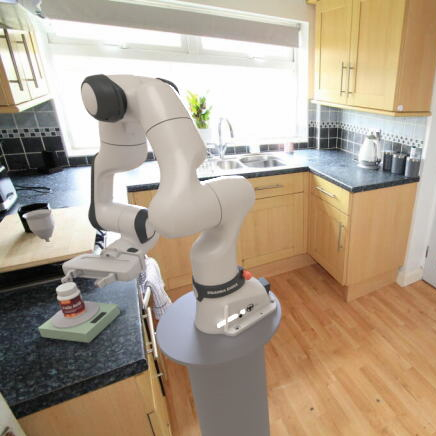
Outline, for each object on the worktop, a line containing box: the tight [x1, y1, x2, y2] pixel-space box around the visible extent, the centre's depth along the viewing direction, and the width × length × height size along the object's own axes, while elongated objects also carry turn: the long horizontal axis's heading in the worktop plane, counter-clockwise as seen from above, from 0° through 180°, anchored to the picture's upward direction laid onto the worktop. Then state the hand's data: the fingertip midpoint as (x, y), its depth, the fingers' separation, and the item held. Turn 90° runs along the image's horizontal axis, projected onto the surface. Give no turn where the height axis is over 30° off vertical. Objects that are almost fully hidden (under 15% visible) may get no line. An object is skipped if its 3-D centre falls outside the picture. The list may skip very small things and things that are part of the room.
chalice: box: [22, 209, 55, 243], centre depth 108 cm, size 7×7×18 cm
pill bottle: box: [55, 281, 86, 319], centre depth 81 cm, size 5×5×8 cm
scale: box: [37, 300, 121, 344], centre depth 84 cm, size 11×13×4 cm
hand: (80, 284), depth 84 cm, fingers open, 8 cm apart
